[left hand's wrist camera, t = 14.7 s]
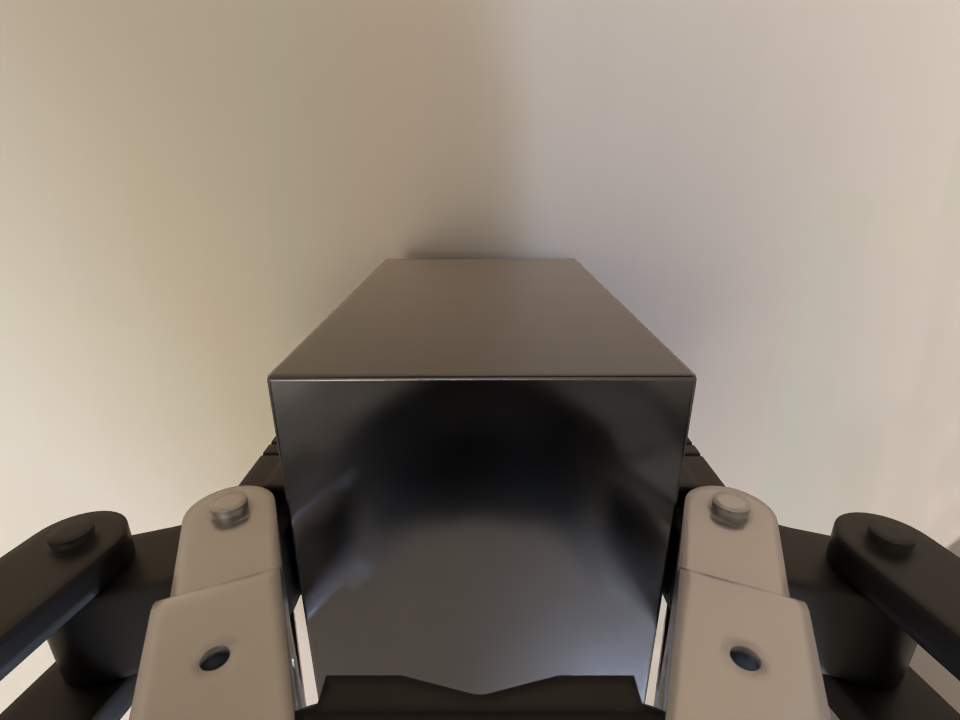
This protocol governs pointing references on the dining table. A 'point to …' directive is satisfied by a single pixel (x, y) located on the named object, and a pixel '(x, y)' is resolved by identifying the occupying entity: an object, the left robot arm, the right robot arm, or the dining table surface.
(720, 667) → the left robot arm
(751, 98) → the dining table surface
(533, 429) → the bar
